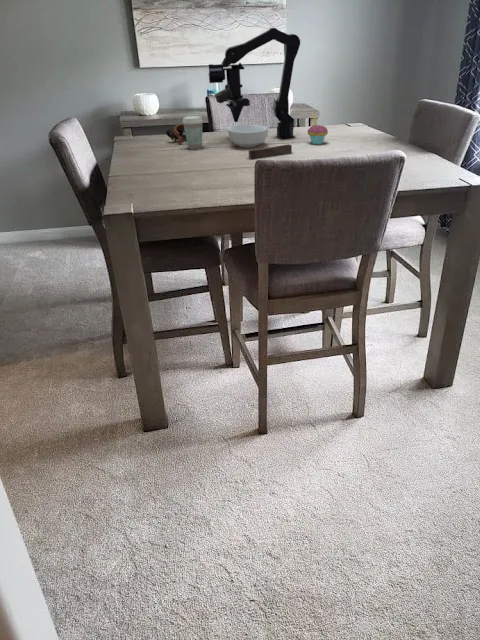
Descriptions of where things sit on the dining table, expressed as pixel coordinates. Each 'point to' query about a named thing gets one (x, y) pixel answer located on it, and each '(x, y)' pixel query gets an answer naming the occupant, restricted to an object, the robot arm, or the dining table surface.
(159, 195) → the dining table surface
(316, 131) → the cupcake
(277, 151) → the rail
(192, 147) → the coffee cup
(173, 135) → the brown irregular piece
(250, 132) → the cereal bowl
